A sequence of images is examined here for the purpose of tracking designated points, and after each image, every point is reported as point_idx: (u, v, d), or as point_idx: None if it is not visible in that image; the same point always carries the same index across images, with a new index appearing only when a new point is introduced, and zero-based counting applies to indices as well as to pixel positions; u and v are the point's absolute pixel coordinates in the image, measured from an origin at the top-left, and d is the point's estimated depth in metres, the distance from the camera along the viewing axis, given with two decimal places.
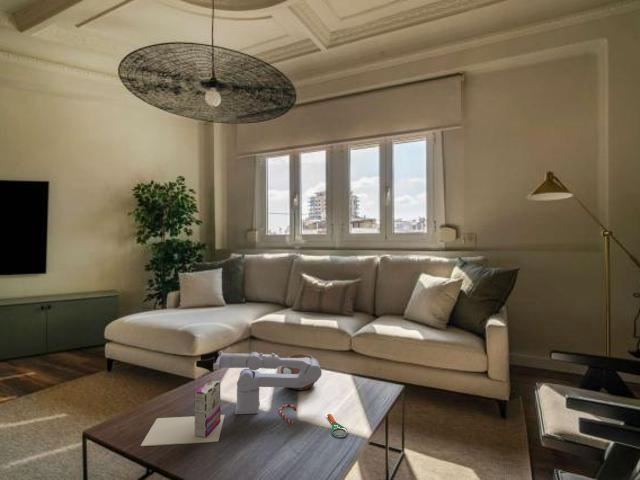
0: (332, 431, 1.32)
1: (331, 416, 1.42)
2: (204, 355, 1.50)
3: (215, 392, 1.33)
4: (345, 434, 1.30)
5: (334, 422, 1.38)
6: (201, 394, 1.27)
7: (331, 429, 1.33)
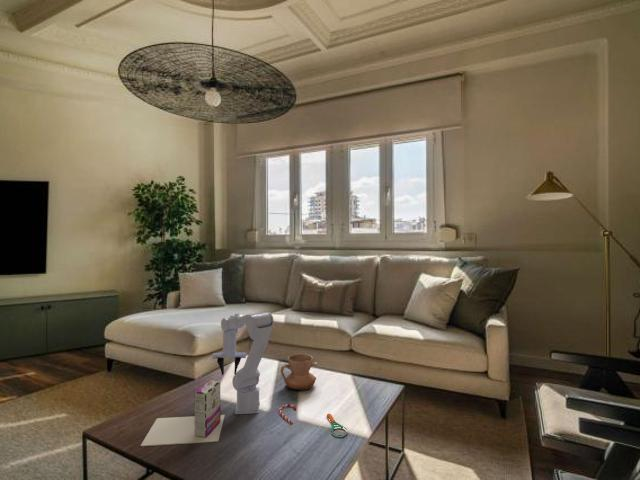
0: (332, 431, 1.33)
1: (331, 416, 1.42)
2: None
3: (215, 392, 1.33)
4: (344, 434, 1.31)
5: (334, 422, 1.38)
6: (201, 394, 1.27)
7: (331, 429, 1.34)
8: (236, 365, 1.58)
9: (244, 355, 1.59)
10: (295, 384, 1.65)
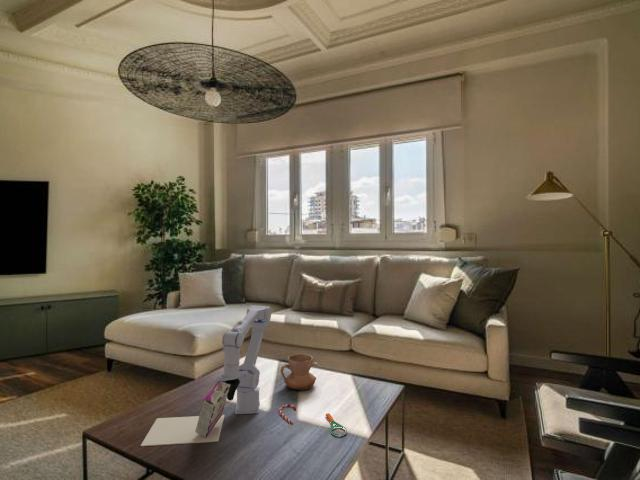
0: (331, 430, 1.33)
1: (330, 415, 1.43)
2: None
3: (223, 397, 1.28)
4: None
5: (333, 421, 1.39)
6: (210, 404, 1.22)
7: None
8: (235, 388, 1.35)
9: (247, 373, 1.40)
10: (295, 384, 1.65)
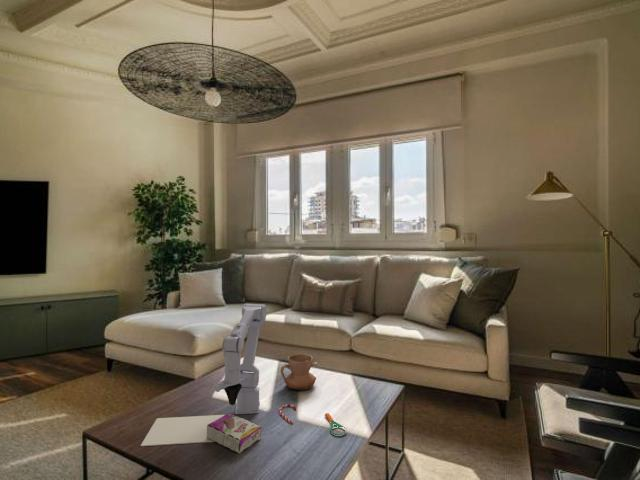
0: None
1: (329, 415, 1.43)
2: None
3: None
4: (344, 433, 1.31)
5: (332, 421, 1.39)
6: (237, 448, 1.19)
7: (330, 428, 1.34)
8: (237, 392, 1.34)
9: (248, 376, 1.39)
10: (295, 384, 1.65)
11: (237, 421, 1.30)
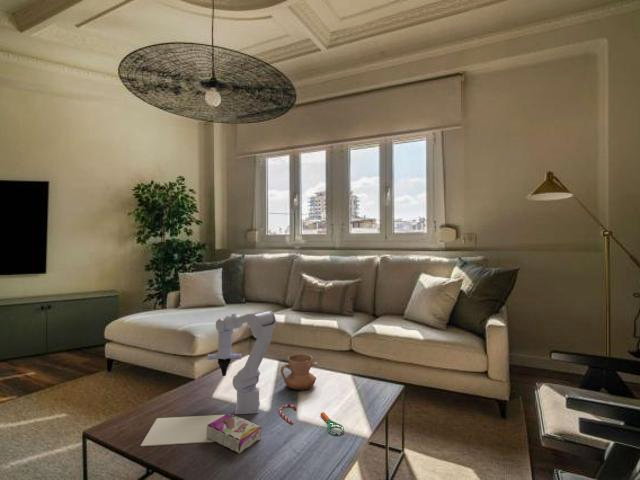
0: (329, 429, 1.34)
1: (325, 414, 1.43)
2: None
3: None
4: (342, 431, 1.32)
5: (329, 420, 1.40)
6: (237, 448, 1.19)
7: None
8: (226, 366, 1.56)
9: (239, 356, 1.58)
10: (295, 384, 1.65)
11: (237, 421, 1.30)
